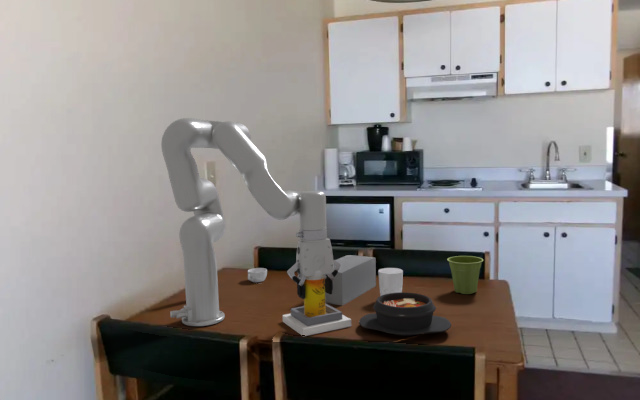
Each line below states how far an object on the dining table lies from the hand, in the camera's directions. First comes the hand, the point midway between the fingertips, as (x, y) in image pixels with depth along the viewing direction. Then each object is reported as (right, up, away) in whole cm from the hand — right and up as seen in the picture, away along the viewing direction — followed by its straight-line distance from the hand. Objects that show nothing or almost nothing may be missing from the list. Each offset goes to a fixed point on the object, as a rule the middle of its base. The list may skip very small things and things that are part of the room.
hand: (315, 295), depth 148 cm
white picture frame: (0, -8, +1) cm, 8 cm away
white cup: (+25, -6, +21) cm, 33 cm away
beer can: (0, -7, +1) cm, 7 cm away
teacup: (-23, -4, +51) cm, 56 cm away
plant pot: (+51, -4, +29) cm, 59 cm away
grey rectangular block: (+5, -5, +34) cm, 35 cm away
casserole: (+25, -9, -5) cm, 27 cm away
